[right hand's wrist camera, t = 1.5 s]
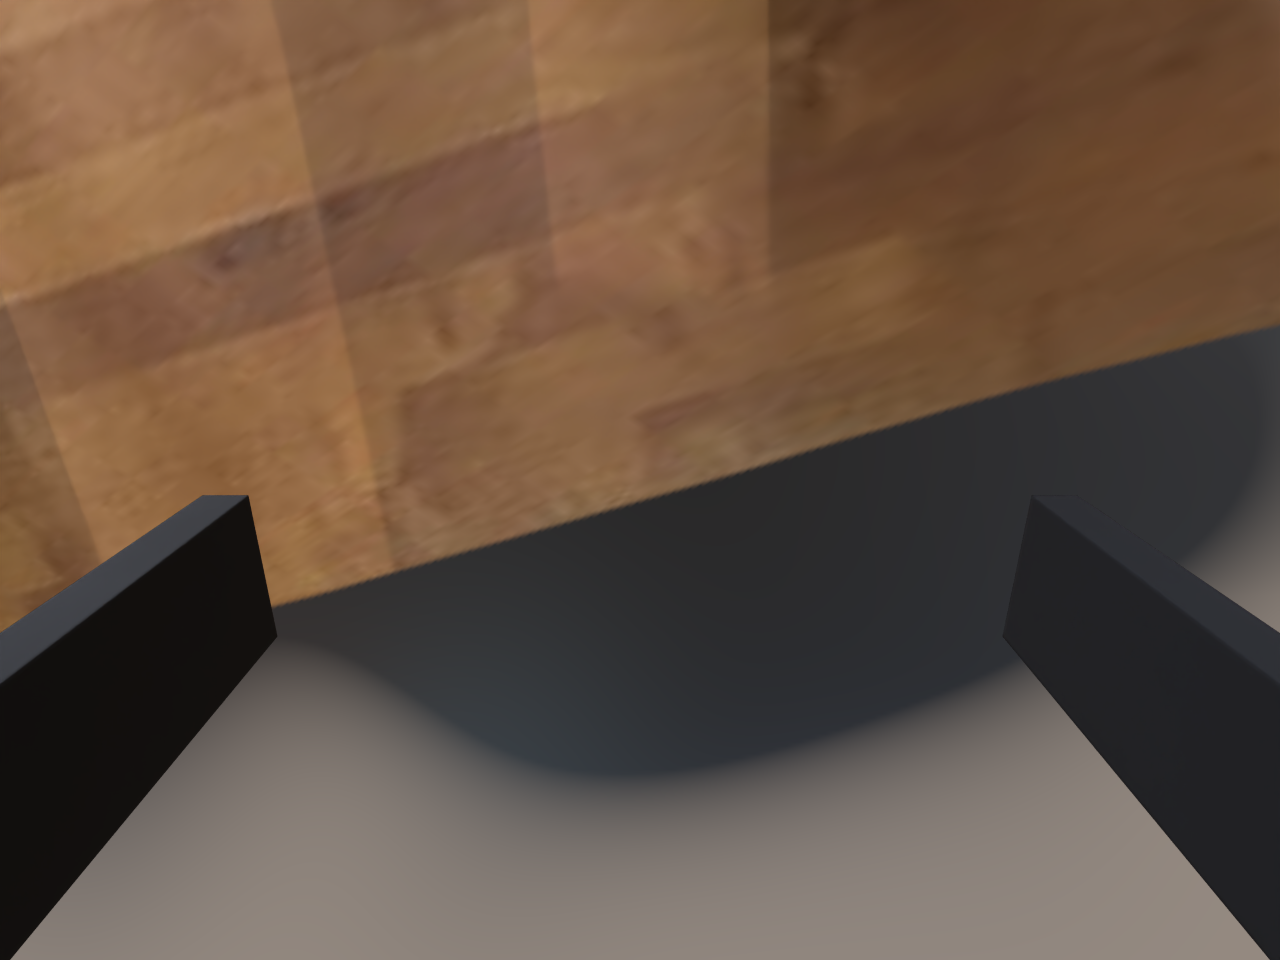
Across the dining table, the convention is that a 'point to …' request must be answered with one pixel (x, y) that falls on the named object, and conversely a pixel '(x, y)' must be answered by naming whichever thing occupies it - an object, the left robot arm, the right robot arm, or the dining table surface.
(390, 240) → the dining table surface
